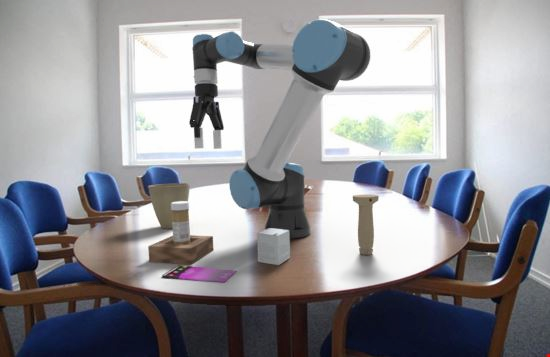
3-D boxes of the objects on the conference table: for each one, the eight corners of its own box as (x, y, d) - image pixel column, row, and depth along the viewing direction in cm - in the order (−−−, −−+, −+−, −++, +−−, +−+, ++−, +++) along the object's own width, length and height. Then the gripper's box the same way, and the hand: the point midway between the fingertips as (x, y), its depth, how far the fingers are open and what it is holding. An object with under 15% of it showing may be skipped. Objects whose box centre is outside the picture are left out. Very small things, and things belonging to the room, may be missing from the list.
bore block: (213, 250, 92) (212, 236, 92) (191, 264, 81) (190, 248, 80) (175, 248, 95) (174, 234, 95) (149, 261, 84) (148, 246, 84)
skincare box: (270, 255, 86) (269, 227, 86) (290, 258, 83) (290, 229, 83) (257, 262, 81) (256, 232, 81) (278, 265, 78) (277, 235, 78)
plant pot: (200, 224, 127) (198, 183, 126) (169, 232, 115) (166, 187, 114) (173, 221, 135) (171, 182, 134) (142, 228, 123) (139, 186, 122)
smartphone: (179, 268, 80) (179, 264, 80) (237, 272, 76) (237, 268, 75) (161, 279, 73) (161, 275, 73) (224, 284, 69) (224, 280, 69)
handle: (382, 255, 83) (382, 196, 82) (359, 257, 82) (358, 197, 81) (372, 249, 88) (371, 194, 87) (350, 252, 87) (349, 195, 85)
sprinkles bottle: (190, 249, 91) (188, 200, 90) (191, 253, 86) (189, 202, 85) (173, 250, 89) (170, 201, 88) (173, 255, 85) (170, 203, 84)
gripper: (212, 91, 123) (215, 149, 125) (175, 77, 99) (179, 148, 101) (231, 90, 121) (233, 148, 123) (197, 75, 97) (201, 147, 99)
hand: (209, 148), depth 112 cm, fingers open, 13 cm apart
